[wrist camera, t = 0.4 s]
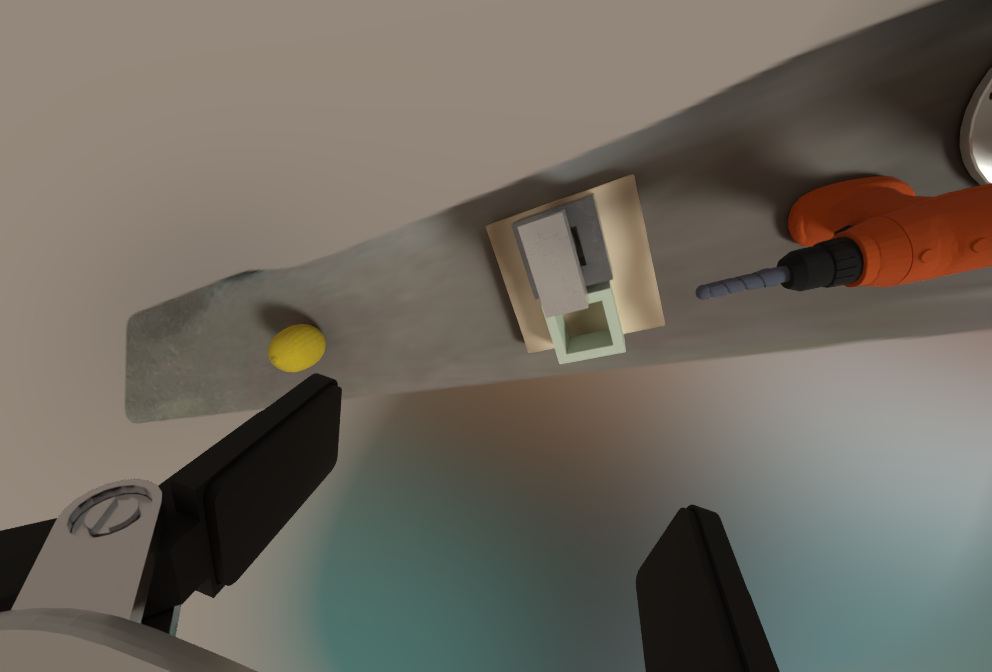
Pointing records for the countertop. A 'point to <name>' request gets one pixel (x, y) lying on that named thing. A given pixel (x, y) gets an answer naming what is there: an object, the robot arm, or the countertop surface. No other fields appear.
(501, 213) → the countertop surface
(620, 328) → the pale green hollow frame
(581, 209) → the block
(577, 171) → the countertop surface
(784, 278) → the toy drill
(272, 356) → the lemon
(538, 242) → the light grey block
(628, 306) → the board
